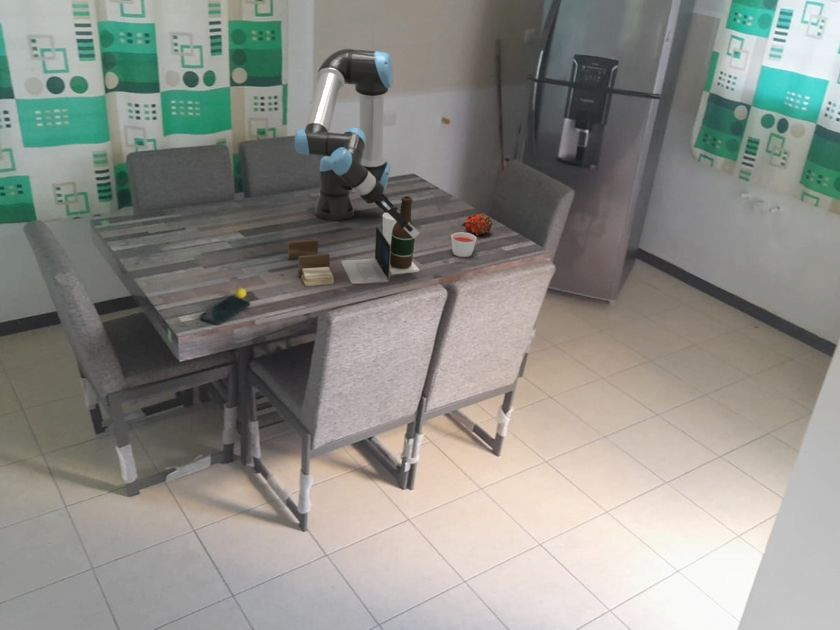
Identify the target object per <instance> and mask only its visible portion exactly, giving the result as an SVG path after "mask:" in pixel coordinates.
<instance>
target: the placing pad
mask: <svg viewBox="0 0 840 630" xmlns="http://www.w3.org/2000/svg"><path fill="white" fill-rule="evenodd" d="M419 272H420V269H419V267H418V266H417V265H416V264H415V263H414V262H413V261H412V265H411V266H410V267H409V268H405V269H399V268H395V267H392V265H391V264H390V274H389V275H401V274H410V273H419Z"/></svg>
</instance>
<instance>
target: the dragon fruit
mask: <svg viewBox="0 0 840 630" xmlns="http://www.w3.org/2000/svg"><path fill="white" fill-rule="evenodd" d="M492 226H493V221H492V220H491V219H490V217H489V216H485V215H484V214H483V213H480V214H477V213H474V214H472V215H469V216H468V218H466V220H465V221H464V222H463V223H462V224H461V227H464V228H465V229H464V232H466V233H470V234H473V235H474V234H475V236H476V237H477V236H480V235H484V234H485V233H486V232H487V233H489V232H490V231H491V229H492Z"/></svg>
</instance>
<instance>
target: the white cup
mask: <svg viewBox="0 0 840 630" xmlns="http://www.w3.org/2000/svg"><path fill="white" fill-rule="evenodd" d="M396 222H397V221H396V220H395V219H394V218H393V217H392V216H391V215H390V214H389V213H386V212H384V213H383V214H382V234H383V235H384V237H385V238H386V240H387V241H388V243H389V244H390V245H391V237H392V230H393V227H394V225H395V223H396Z"/></svg>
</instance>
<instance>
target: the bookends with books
mask: <svg viewBox="0 0 840 630" xmlns="http://www.w3.org/2000/svg"><path fill="white" fill-rule="evenodd" d="M318 247H319V240H318V239H306V240H305V239H304V240H294V241H293V240H292V241H287V252H288V253H287V254H288V255H287V259H288V260H296V259H297V260H298V261H297V262H298V266H297V267H298V278H301V280H302V282H303V284H304V286H305V287H312V286H313V287H314V286H322V285H329V284H330V285H332V284H334V282H335V281H334V278H335V276H334V274H333V273H332V270H331V269H330V254H329V253H320V254H319V250H318V249H319V248H318Z"/></svg>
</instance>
